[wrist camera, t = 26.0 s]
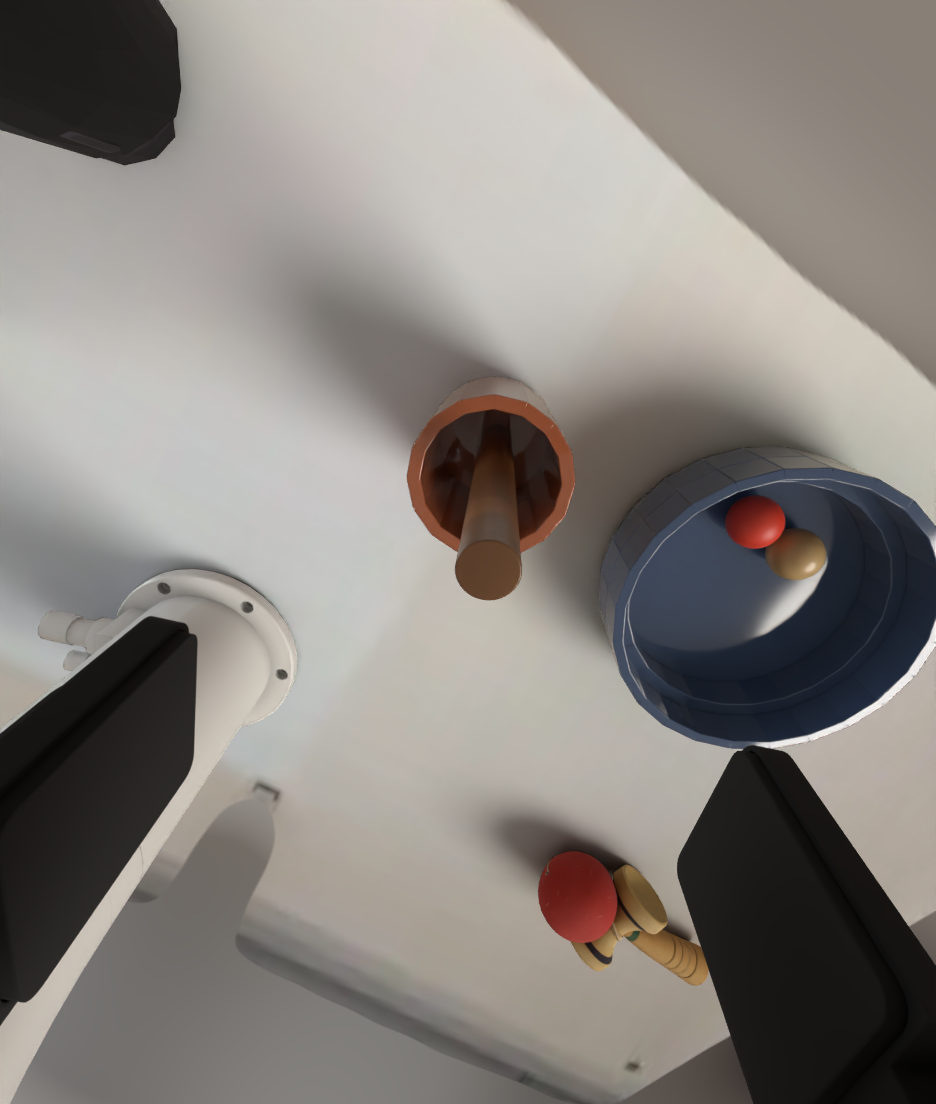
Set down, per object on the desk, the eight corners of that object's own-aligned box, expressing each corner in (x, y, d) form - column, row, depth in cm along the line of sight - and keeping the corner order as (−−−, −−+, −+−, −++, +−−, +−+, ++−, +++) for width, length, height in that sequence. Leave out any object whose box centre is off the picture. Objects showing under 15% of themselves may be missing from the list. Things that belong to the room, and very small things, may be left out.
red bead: (770, 548, 28) (742, 498, 29) (729, 562, 31) (704, 515, 32) (807, 528, 29) (780, 480, 30) (764, 543, 32) (740, 498, 33)
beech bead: (808, 525, 29) (770, 515, 32) (780, 574, 29) (744, 560, 32) (849, 546, 30) (808, 535, 33) (820, 594, 30) (782, 579, 33)
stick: (477, 451, 31) (448, 592, 15) (484, 420, 31) (462, 533, 14) (507, 458, 31) (512, 607, 15) (515, 428, 31) (530, 548, 14)
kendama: (723, 906, 48) (588, 824, 41) (748, 996, 42) (597, 918, 36) (650, 927, 51) (516, 855, 45) (665, 1012, 46) (515, 944, 40)
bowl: (564, 661, 37) (574, 714, 32) (653, 413, 31) (683, 430, 25) (802, 715, 38) (848, 775, 33) (940, 483, 31) (1025, 514, 26)
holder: (421, 484, 33) (394, 537, 25) (446, 362, 30) (424, 377, 22) (536, 511, 33) (547, 573, 25) (571, 393, 30) (596, 418, 22)
